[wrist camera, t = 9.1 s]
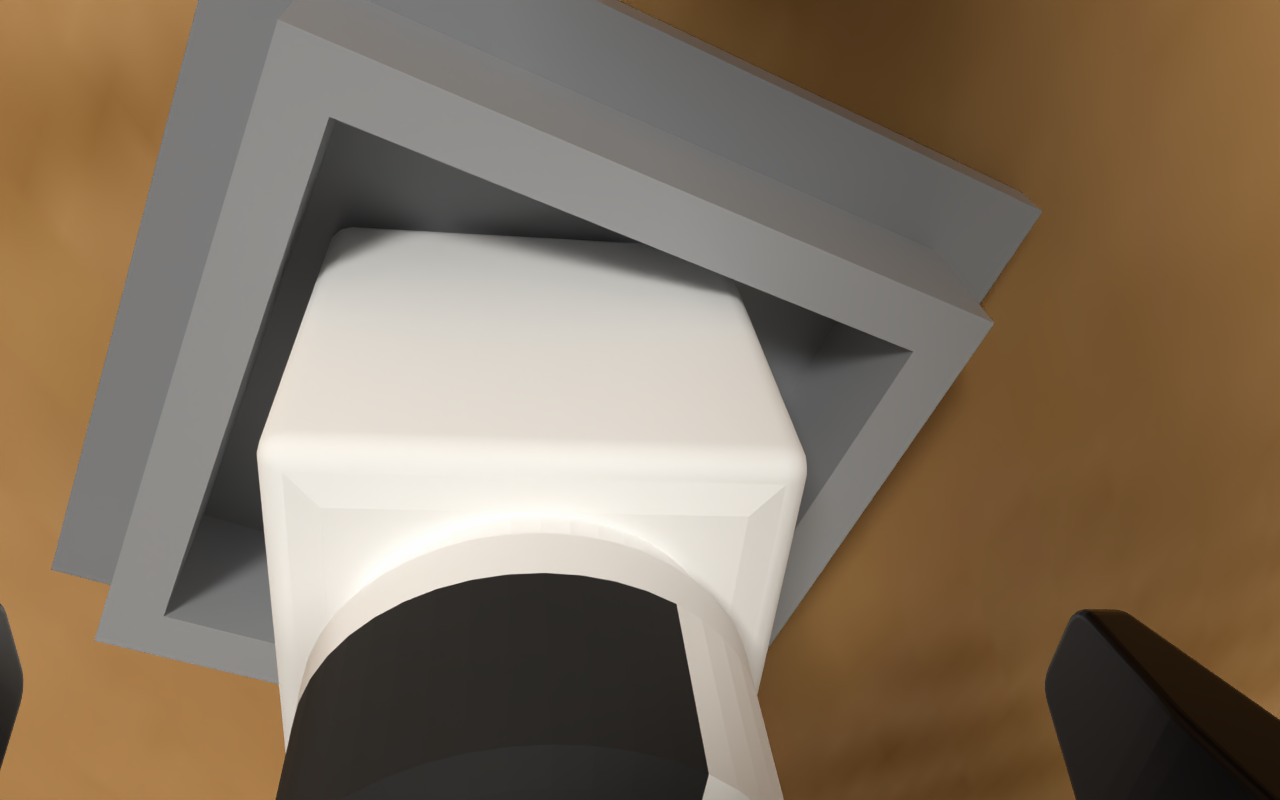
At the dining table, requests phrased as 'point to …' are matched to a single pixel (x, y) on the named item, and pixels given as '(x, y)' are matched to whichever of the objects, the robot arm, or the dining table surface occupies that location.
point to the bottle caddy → (508, 206)
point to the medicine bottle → (525, 524)
